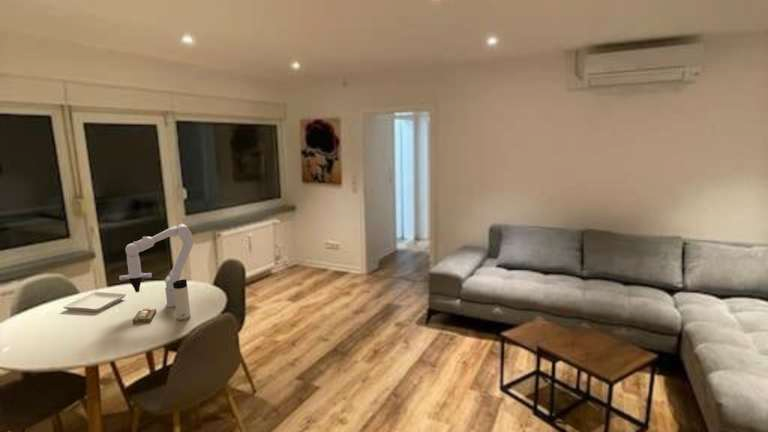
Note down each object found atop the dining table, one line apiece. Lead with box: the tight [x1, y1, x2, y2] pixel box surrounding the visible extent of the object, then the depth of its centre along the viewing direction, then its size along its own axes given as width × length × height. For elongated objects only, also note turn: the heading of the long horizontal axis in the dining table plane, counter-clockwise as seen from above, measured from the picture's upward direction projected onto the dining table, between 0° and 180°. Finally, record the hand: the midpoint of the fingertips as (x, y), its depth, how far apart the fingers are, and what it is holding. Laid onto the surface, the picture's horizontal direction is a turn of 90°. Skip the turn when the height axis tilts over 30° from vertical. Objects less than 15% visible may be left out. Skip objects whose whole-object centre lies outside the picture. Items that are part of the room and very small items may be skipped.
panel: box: [132, 308, 157, 325], centre depth 216 cm, size 8×12×2 cm, turn 16°
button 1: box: [139, 314, 146, 319], centre depth 212 cm, size 3×3×3 cm
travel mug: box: [173, 278, 191, 322], centre depth 214 cm, size 6×7×20 cm
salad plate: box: [62, 291, 127, 312], centre depth 234 cm, size 21×21×3 cm
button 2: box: [142, 307, 151, 314], centre depth 219 cm, size 3×3×3 cm
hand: (137, 291), depth 224 cm, fingers closed
